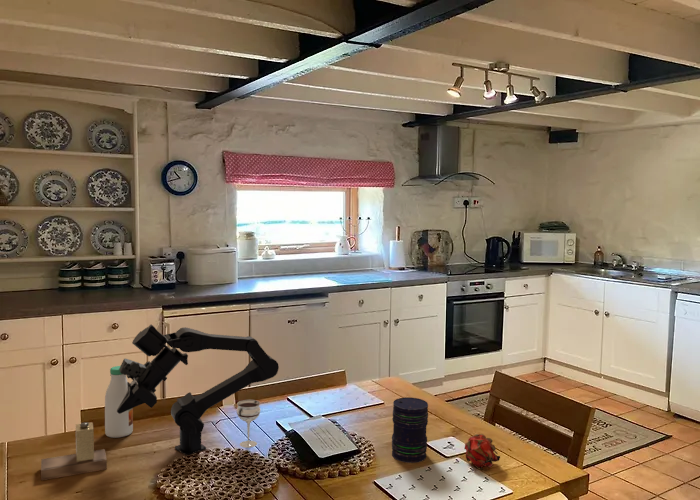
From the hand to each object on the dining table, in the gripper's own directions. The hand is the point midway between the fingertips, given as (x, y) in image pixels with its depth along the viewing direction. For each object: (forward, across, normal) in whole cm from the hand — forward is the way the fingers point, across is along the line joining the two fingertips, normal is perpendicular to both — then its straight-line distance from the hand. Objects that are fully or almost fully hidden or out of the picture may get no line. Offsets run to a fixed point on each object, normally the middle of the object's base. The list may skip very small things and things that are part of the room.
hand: (118, 412), depth 153 cm
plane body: (+17, 0, +2) cm, 17 cm away
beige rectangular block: (+13, 0, +2) cm, 13 cm away
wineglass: (-15, +3, +34) cm, 37 cm away
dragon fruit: (-52, +41, +73) cm, 98 cm away
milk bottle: (+8, -20, +11) cm, 24 cm away
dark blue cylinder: (-42, +28, +62) cm, 80 cm away
